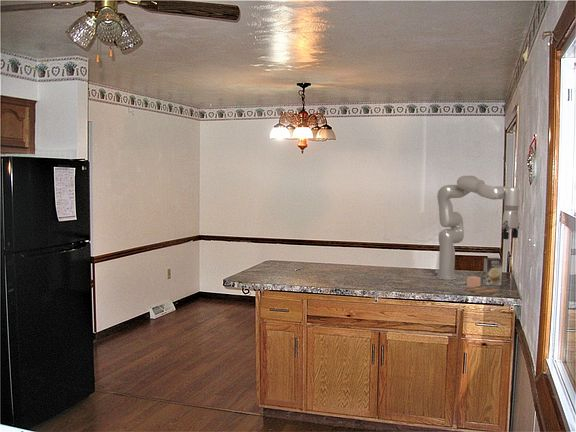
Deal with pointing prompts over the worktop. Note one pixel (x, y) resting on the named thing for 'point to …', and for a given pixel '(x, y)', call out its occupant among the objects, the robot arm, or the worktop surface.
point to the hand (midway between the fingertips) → (510, 238)
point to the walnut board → (482, 290)
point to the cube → (473, 281)
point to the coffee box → (492, 271)
